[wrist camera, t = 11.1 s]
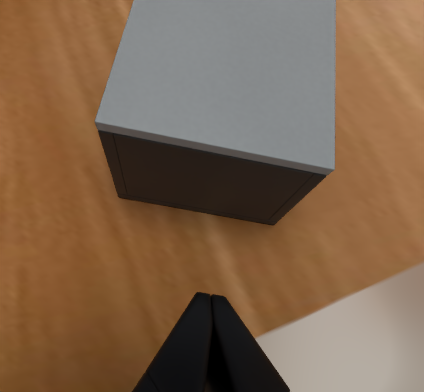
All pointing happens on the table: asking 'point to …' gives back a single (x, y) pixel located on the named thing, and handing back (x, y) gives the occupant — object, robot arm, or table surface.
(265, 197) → the dark grey box
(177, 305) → the table surface
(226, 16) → the lid
